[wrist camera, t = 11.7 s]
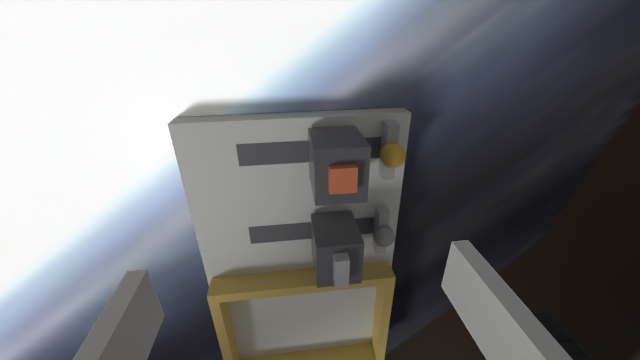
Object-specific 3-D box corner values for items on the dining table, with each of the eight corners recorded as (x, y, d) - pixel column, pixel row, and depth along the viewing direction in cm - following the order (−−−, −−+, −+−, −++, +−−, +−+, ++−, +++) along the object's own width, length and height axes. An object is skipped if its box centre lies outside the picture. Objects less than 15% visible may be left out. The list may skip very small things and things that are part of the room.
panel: (231, 352, 40) (226, 387, 36) (175, 117, 25) (156, 134, 21) (376, 334, 42) (386, 366, 38) (402, 107, 27) (423, 121, 23)
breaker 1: (309, 176, 27) (316, 210, 22) (307, 127, 25) (314, 153, 20) (353, 173, 27) (369, 206, 22) (355, 125, 25) (373, 149, 20)
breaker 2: (311, 250, 31) (318, 296, 25) (310, 213, 29) (317, 256, 23) (350, 246, 31) (364, 292, 26) (351, 210, 29) (367, 251, 24)
